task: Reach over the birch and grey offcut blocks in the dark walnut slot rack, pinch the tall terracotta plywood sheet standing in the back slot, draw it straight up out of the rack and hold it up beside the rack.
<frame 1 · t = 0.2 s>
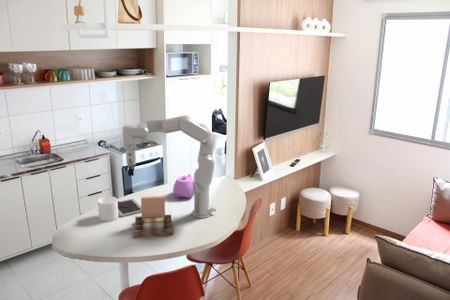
hand: (131, 172, 240), 31 cm above the table, fingers open, 9 cm apart
offcut rack: (153, 227, 239), on the table
birch offcut: (153, 228, 237), resting in offcut rack
picture frame: (127, 209, 262), on the table
grey offcut: (153, 233, 232), resting in offcut rack
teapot: (187, 194, 286), on the table
cup: (108, 217, 250), on the table
plywood sheet: (153, 223, 243), resting in offcut rack
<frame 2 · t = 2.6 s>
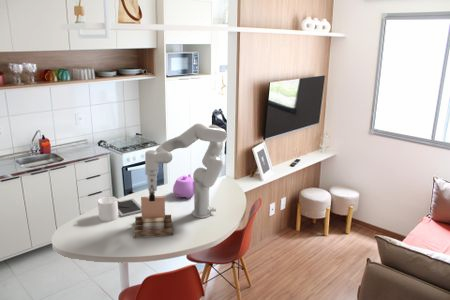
hand: (151, 197, 237), 18 cm above the table, fingers open, 9 cm apart
nothing on the table moved.
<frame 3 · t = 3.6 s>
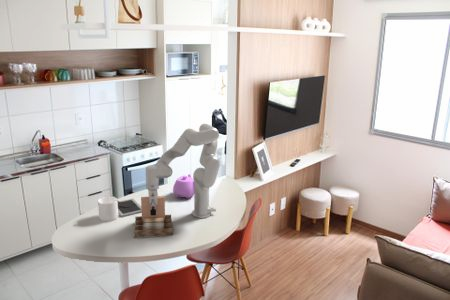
hand: (153, 211, 240), 8 cm above the table, fingers open, 9 cm apart
nothing on the table moved.
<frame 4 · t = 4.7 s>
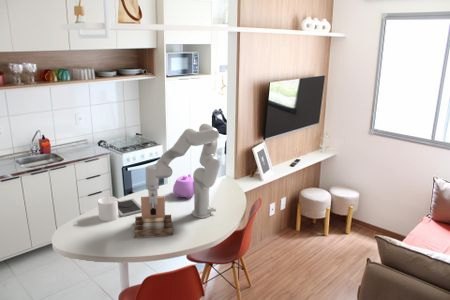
hand: (153, 213, 241), 7 cm above the table, fingers closed on plywood sheet, 2 cm apart
plywood sheet: (153, 223, 243), resting in offcut rack, touching gripper
everything else where it was.
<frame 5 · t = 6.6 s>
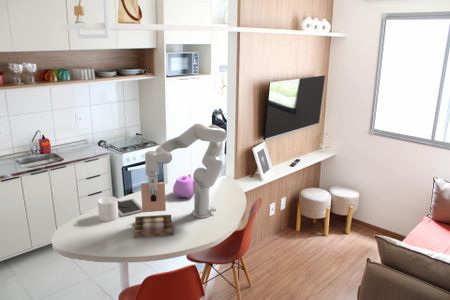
hand: (153, 199, 238), 16 cm above the table, fingers closed on plywood sheet, 2 cm apart
plywood sheet: (154, 210, 240), point 9 cm above the table, touching gripper
everything else where it was.
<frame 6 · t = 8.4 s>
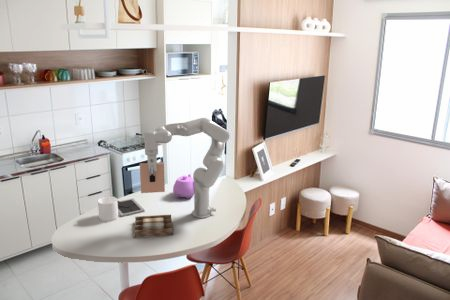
hand: (152, 180, 234), 29 cm above the table, fingers closed on plywood sheet, 2 cm apart
plywood sheet: (152, 191, 236), point 22 cm above the table, touching gripper
everything else where it was.
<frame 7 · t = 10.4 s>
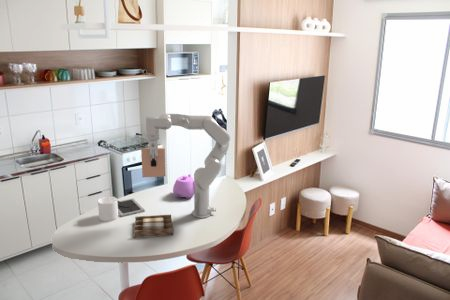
hand: (153, 165, 241), 35 cm above the table, fingers closed on plywood sheet, 2 cm apart
plywood sheet: (154, 176, 244), point 28 cm above the table, touching gripper
everything else where it was.
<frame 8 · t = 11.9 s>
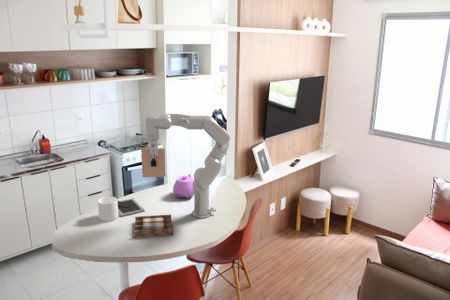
hand: (153, 165, 241), 35 cm above the table, fingers closed on plywood sheet, 2 cm apart
plywood sheet: (154, 176, 244), point 28 cm above the table, touching gripper
everything else where it was.
at the end: the gripper is holding plywood sheet; plywood sheet inside the target area (1.0 cm from its centre), point 27.9 cm above the table; birch offcut moved 0.3 cm from its start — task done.
